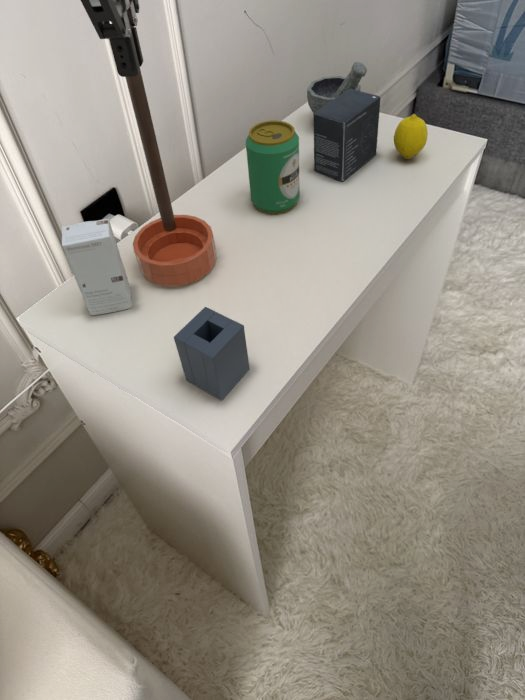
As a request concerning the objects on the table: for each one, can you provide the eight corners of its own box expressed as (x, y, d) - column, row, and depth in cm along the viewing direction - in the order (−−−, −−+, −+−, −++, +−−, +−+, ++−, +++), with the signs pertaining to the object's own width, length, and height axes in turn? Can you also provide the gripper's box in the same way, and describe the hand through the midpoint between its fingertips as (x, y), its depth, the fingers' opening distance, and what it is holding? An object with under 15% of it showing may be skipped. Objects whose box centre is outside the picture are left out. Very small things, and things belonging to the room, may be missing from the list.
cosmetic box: (90, 317, 72) (58, 247, 62) (89, 295, 75) (59, 225, 65) (135, 308, 72) (110, 237, 63) (132, 286, 75) (108, 216, 66)
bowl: (133, 289, 75) (125, 265, 71) (148, 239, 82) (141, 215, 79) (212, 288, 74) (207, 264, 70) (220, 237, 81) (216, 213, 78)
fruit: (424, 151, 94) (432, 106, 87) (421, 167, 90) (430, 122, 84) (393, 148, 95) (399, 104, 89) (389, 164, 91) (395, 120, 85)
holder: (185, 380, 64) (173, 336, 58) (214, 350, 66) (205, 306, 60) (221, 401, 61) (212, 358, 55) (249, 369, 64) (244, 325, 58)
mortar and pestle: (297, 127, 102) (297, 62, 93) (323, 108, 106) (325, 43, 97) (348, 142, 97) (352, 75, 88) (373, 121, 102) (379, 55, 92)
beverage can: (280, 221, 83) (277, 150, 74) (241, 205, 86) (233, 136, 77) (309, 196, 87) (309, 126, 78) (270, 182, 90) (266, 113, 81)
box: (346, 144, 97) (350, 86, 89) (377, 155, 94) (383, 96, 86) (311, 170, 92) (312, 111, 84) (342, 182, 89) (346, 123, 81)
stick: (162, 232, 73) (108, 22, 53) (164, 224, 74) (113, 15, 54) (175, 231, 72) (126, 21, 53) (177, 223, 74) (130, 14, 54)
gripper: (60, -155, 49) (112, 47, 62) (7, -129, 40) (81, 101, 53) (139, -162, 48) (175, 44, 61) (103, -137, 39) (154, 97, 52)
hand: (131, 69), depth 57 cm, fingers closed on stick, 2 cm apart
